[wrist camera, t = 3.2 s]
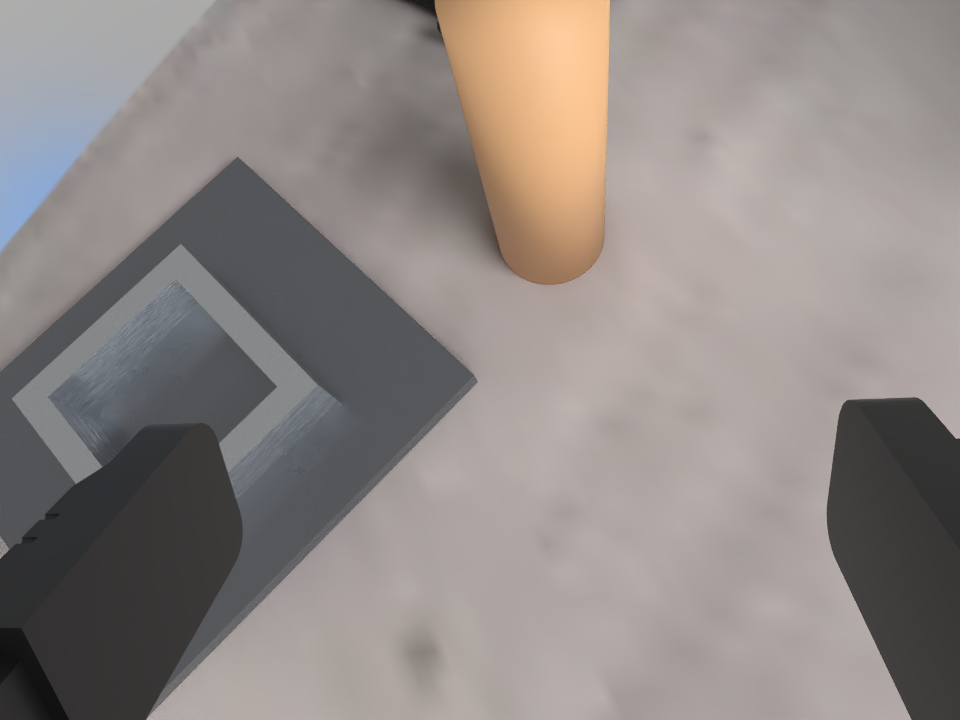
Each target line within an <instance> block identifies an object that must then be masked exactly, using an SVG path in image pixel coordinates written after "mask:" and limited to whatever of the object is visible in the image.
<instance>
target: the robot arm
mask: <svg viewBox="0 0 960 720" xmlns="http://www.w3.org/2000/svg"><path fill="white" fill-rule="evenodd" d="M827 526H828V534H829V539H830V544H831V548H832V551H833V554H834V557H835V559H836V561H837V563H838V565H839V568H840V570H841V572H842V574H843V576H844V578H845V580H846V582H847V584H848V587H849V589H850V591H851V593H852V595H853V597H854V599H855V601H856V603H857V605H858V608H859V610H860V612H861V614H862V616H863V618H864V620H865V622H866V624H867V627H868V629H869V631H870V633H871V635H872V637H873V639H874V641H875V643H876V645H877V648H878V650H879V652H880V654H881V656H882V658H883V660H884V662H885V664H886V667H887V669H888V671H889V673H890V675H891V677H892V679H893V681H894V683H895V685H896V688H897V690H898V692H899V694H900V696H901V698H902V700H903V702H904V704H905V707H906V709H907V711H908V713H909V715H910V717H911V719H912V720H960V439H956V438H955V437H954V436H953V435H952V434H951V433H950V432H949V430H948V429H947V428H946V427H945V426H944V425H943V423H942V422H941V421H940V420H939V419H938V418H937V417H936V415H935V414H934V413H933V412H932V411H931V410H930V409H929V407H928V406H927V405H926V404H925V403H924V402H923V401H922V400H920V399H919V398H915V397H913V398H886V399H860V400H847V401H846V402H845V403H844V404H843V406H842V408H841V411H840V414H839V419H838V426H837V434H836V441H835V449H834V457H833V464H832V472H831V479H830V487H829V495H828V502H827ZM242 536H243V525H242V517H241V513H240V510H239V507H238V503H237V500H236V497H235V494H234V491H233V487H232V484H231V481H230V478H229V475H228V471H227V468H226V465H225V462H224V459H223V455H222V452H221V449H220V446H219V443H218V440H217V437H216V435H215V433H214V431H213V430H212V428H211V427H210V426H209V425H207V424H205V423H181V424H155V425H148V426H146V427H144V428H143V429H141V430H140V431H139V432H138V433H137V434H136V435H135V436H134V437H133V438H132V440H131V441H130V442H129V443H128V444H127V445H126V446H125V447H124V448H123V449H122V450H121V451H120V452H119V453H118V454H117V455H116V456H115V457H114V458H113V459H112V460H111V461H110V462H109V463H108V464H107V465H105V466H103V467H102V468H100V469H99V470H97V471H96V472H94V473H93V474H91V475H89V476H88V477H86V478H85V479H83V480H82V481H80V482H78V483H77V484H75V485H74V486H72V487H71V488H70V489H69V490H68V491H67V492H66V493H65V494H64V495H63V496H62V497H61V498H60V499H59V500H58V501H57V502H56V503H55V504H54V505H53V506H52V507H51V508H50V509H49V510H48V511H47V512H46V513H45V519H44V520H39V521H38V522H37V523H36V524H35V525H34V526H33V527H32V528H31V529H30V530H29V531H28V532H27V533H26V534H25V535H24V536H23V537H22V542H21V544H15V545H14V546H13V547H12V548H11V549H10V550H9V551H8V552H7V553H6V554H5V555H4V556H3V557H2V558H1V559H0V720H146V718H147V717H148V715H149V713H150V711H151V710H152V708H153V706H154V705H155V703H156V701H157V699H158V698H159V696H160V694H161V692H162V691H163V689H164V687H165V685H166V684H167V682H168V680H169V678H170V677H171V675H172V673H173V671H174V670H175V668H176V666H177V664H178V663H179V661H180V659H181V657H182V656H183V654H184V652H185V650H186V649H187V647H188V645H189V643H190V642H191V640H192V638H193V636H194V635H195V633H196V631H197V629H198V628H199V626H200V624H201V622H202V621H203V619H204V617H205V615H206V614H207V612H208V610H209V608H210V607H211V605H212V603H213V601H214V600H215V598H216V596H217V594H218V593H219V591H220V589H221V588H222V586H223V584H224V582H225V581H226V579H227V577H228V575H229V574H230V572H231V570H232V568H233V567H234V565H235V563H236V561H237V559H238V556H239V553H240V549H241V544H242Z"/></svg>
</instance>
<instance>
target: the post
mask: <svg viewBox="0 0 960 720" xmlns="http://www.w3.org/2000/svg"><path fill="white" fill-rule="evenodd" d="M435 9H436V13H437V17H438V21H439V25H440V29H441V32H442V36H443V40H444V43H445V47H446V51H447V54H448V58H449V62H450V66H451V69H452V73H453V77H454V80H455V84H456V88H457V92H458V95H459V99H460V103H461V106H462V110H463V114H464V117H465V121H466V125H467V129H468V132H469V136H470V140H471V143H472V147H473V151H474V154H475V158H476V162H477V166H478V169H479V173H480V177H481V180H482V184H483V188H484V191H485V195H486V199H487V203H488V206H489V210H490V214H491V217H492V221H493V225H494V229H495V232H496V236H497V240H498V243H499V247H500V251H501V254H502V256H503V259H504V260H505V262H506V264H507V265H508V266H509V267H510V269H511V270H512V271H513V272H515V273H516V274H517V275H519V276H520V277H522V278H524V279H525V280H528V281H530V282H534V283H538V284H545V285H554V284H561V283H565V282H568V281H571V280H573V279H575V278H577V277H579V276H581V275H582V274H584V273H585V272H586V271H587V270H589V269H590V268H591V267H592V265H593V264H594V263H595V262H596V260H597V259H598V257H599V255H600V253H601V251H602V247H603V243H604V226H605V186H606V146H607V106H608V66H609V26H610V0H435Z"/></svg>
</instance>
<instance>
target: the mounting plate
mask: <svg viewBox="0 0 960 720" xmlns="http://www.w3.org/2000/svg"><path fill="white" fill-rule="evenodd" d="M476 383H477V380H476V378H475V376H474V375H473V374H472V373H471V372H470V371H469V370H468V369H467V368H466V367H465V366H463V365H462V364H461V363H460V362H459V361H458V360H457V359H456V358H455V357H454V356H453V355H452V354H450V353H449V352H448V351H447V350H446V349H445V348H444V347H443V346H442V345H441V344H440V343H439V342H437V341H436V340H435V339H434V338H433V337H432V336H431V335H430V334H429V333H428V332H427V331H426V330H424V329H423V328H422V327H421V326H420V325H419V324H418V323H417V322H416V321H415V320H414V319H413V318H411V317H410V316H409V315H408V314H407V313H406V312H405V311H404V310H403V309H402V308H401V307H400V306H399V305H397V304H396V303H395V302H394V301H393V300H392V299H391V298H390V297H389V296H388V295H387V294H386V293H384V292H383V291H382V290H381V289H380V288H379V287H378V286H377V285H376V284H375V283H374V282H373V281H371V280H370V279H369V278H368V277H367V276H366V275H365V274H364V273H363V272H362V271H361V270H360V269H358V268H357V267H356V266H355V265H354V264H353V263H352V262H351V261H350V260H349V259H348V258H347V257H345V256H344V255H343V254H342V253H341V252H340V251H339V250H338V249H337V248H336V247H335V246H334V245H332V244H331V243H330V242H329V241H328V240H327V239H326V238H325V237H324V236H323V235H322V234H321V233H320V232H318V231H317V230H316V229H315V228H314V227H313V226H312V225H311V224H310V223H309V222H308V221H307V220H305V219H304V218H303V217H302V216H301V215H300V214H299V213H298V212H297V211H296V210H295V209H294V208H292V207H291V206H290V205H289V204H288V203H287V202H286V201H285V200H284V199H283V198H282V197H281V196H279V195H278V194H277V193H276V192H275V191H274V190H273V189H272V188H271V187H270V186H269V185H268V184H266V183H265V182H264V181H263V180H262V179H261V178H260V177H259V176H258V175H257V174H256V173H255V172H253V171H252V170H251V169H250V168H249V167H248V166H247V165H246V164H245V163H244V162H243V161H242V160H241V159H239V158H238V157H237V158H236V159H235V160H234V161H233V162H232V163H231V164H230V165H229V166H227V167H226V168H225V169H224V170H223V171H222V172H221V173H220V174H219V175H218V176H216V177H215V178H214V179H213V180H212V181H211V182H210V183H209V184H208V185H206V186H205V187H204V188H203V189H202V190H201V191H200V192H199V193H198V194H197V195H195V196H194V197H193V198H192V199H191V200H190V201H189V202H188V203H187V204H186V205H184V206H183V207H182V208H181V209H180V210H179V211H178V212H177V213H176V214H175V215H173V216H172V217H171V218H170V219H169V220H168V221H167V222H166V223H165V224H164V225H162V226H161V227H160V228H159V229H158V230H157V231H156V232H155V233H154V234H152V235H151V236H150V237H149V238H148V239H147V240H146V241H145V242H144V243H143V244H141V245H140V246H139V247H138V248H137V249H136V250H135V251H134V252H133V253H132V254H130V255H129V256H128V257H127V258H126V259H125V260H124V261H123V262H122V263H121V264H119V265H118V266H117V267H116V268H115V269H114V270H113V271H112V272H111V273H110V274H108V275H107V276H106V277H105V278H104V279H103V280H102V281H101V282H100V283H98V284H97V285H96V286H95V287H94V288H93V289H92V290H91V291H90V292H89V293H87V294H86V295H85V296H84V297H83V298H82V299H81V300H80V301H79V302H78V303H76V304H75V305H74V306H73V307H72V308H71V309H70V310H69V311H68V312H67V313H65V314H64V315H63V316H62V317H61V318H60V319H59V320H58V321H57V322H56V323H54V324H53V325H52V326H51V327H50V328H49V329H48V330H47V331H46V332H44V333H43V334H42V335H41V336H40V337H39V338H38V339H37V340H36V341H35V342H33V343H32V344H31V345H30V346H29V347H28V348H27V349H26V350H25V351H24V352H22V353H21V354H20V355H19V356H18V357H17V358H16V359H15V360H14V361H13V362H11V363H10V364H9V365H8V366H7V367H6V368H5V369H4V370H3V371H1V372H0V536H1V537H2V539H3V540H4V541H5V543H6V544H7V546H8V547H9V549H11V548H12V547H13V546H14V545H15V544H21V542H22V537H23V536H24V535H25V534H26V533H27V532H28V531H29V530H30V529H31V528H32V527H33V526H34V525H35V524H36V523H37V522H38V521H39V520H44V519H45V513H46V512H47V511H48V510H49V509H50V508H51V507H52V506H53V505H54V504H55V503H56V502H57V501H58V500H59V499H60V498H61V497H62V496H63V495H64V494H65V493H66V492H67V491H68V490H69V489H70V488H71V487H72V486H74V485H75V484H77V483H78V482H80V481H82V480H83V479H85V478H86V477H88V476H89V475H91V474H93V473H94V472H96V471H97V470H99V469H100V468H102V467H103V466H105V465H107V464H108V463H109V462H110V461H111V460H112V459H113V458H114V457H115V456H116V455H117V454H118V453H119V452H120V451H121V450H122V449H123V448H124V447H125V446H126V445H127V444H128V443H129V442H130V441H131V440H132V438H133V437H134V436H135V435H136V434H137V433H138V432H139V431H140V430H141V429H143V428H144V427H146V426H148V425H155V424H181V423H205V424H207V425H209V426H210V427H211V428H212V430H213V431H214V433H215V435H216V437H217V440H218V443H219V446H220V449H221V452H222V455H223V459H224V462H225V465H226V468H227V471H228V475H229V478H230V481H231V484H232V487H233V491H234V494H235V497H236V500H237V503H238V507H239V510H240V513H241V517H242V525H243V536H242V544H241V549H240V553H239V556H238V559H237V561H236V563H235V565H234V567H233V568H232V570H231V572H230V574H229V575H228V577H227V579H226V581H225V582H224V584H223V586H222V588H221V589H220V591H219V593H218V594H217V596H216V598H215V600H214V601H213V603H212V605H211V607H210V608H209V610H208V612H207V614H206V615H205V617H204V619H203V621H202V622H201V624H200V626H199V628H198V629H197V631H196V633H195V635H194V636H193V638H192V640H191V642H190V643H189V645H188V647H187V649H186V650H185V652H184V654H183V656H182V657H181V659H180V661H179V663H178V664H177V666H176V668H175V670H174V671H173V673H172V675H171V677H170V678H169V680H168V682H167V684H166V685H165V687H164V689H163V691H162V692H161V694H160V696H159V698H158V699H157V701H156V703H155V705H154V706H153V708H152V710H151V711H150V713H149V715H150V714H151V713H152V712H153V711H154V710H155V709H156V708H157V707H158V706H159V705H160V704H161V703H162V702H163V700H164V699H165V698H166V697H167V696H168V695H169V694H170V693H171V692H172V691H173V690H174V689H175V688H176V687H177V686H178V685H179V684H180V683H181V682H182V681H183V680H184V679H185V678H186V677H187V676H188V675H189V674H190V673H191V672H192V671H193V670H194V669H195V668H196V667H197V666H198V665H199V664H200V663H201V662H202V661H203V660H204V659H205V658H206V657H207V656H208V655H209V654H210V653H211V652H212V651H213V650H214V649H215V648H216V647H217V646H218V645H219V644H220V643H221V642H222V641H223V640H224V639H225V638H226V637H227V636H228V635H229V634H230V633H231V632H232V631H233V630H234V628H235V627H236V626H237V625H238V624H239V623H240V622H241V621H242V620H243V619H244V618H245V617H246V616H247V615H248V614H249V613H250V612H251V611H252V610H253V609H254V608H255V607H256V606H257V605H258V604H259V603H260V602H261V601H262V600H263V599H264V598H265V597H266V596H267V595H268V594H269V593H270V592H271V591H272V590H273V589H274V588H275V587H276V586H277V585H278V584H279V583H280V582H281V581H282V580H283V579H284V578H285V577H286V576H287V575H288V574H289V573H290V572H291V571H292V570H293V569H294V568H295V567H296V566H297V565H298V564H299V563H300V562H301V561H302V560H303V559H304V558H305V557H306V555H307V554H308V553H309V552H310V551H311V550H312V549H313V548H314V547H315V546H316V545H317V544H318V543H319V542H320V541H321V540H322V539H323V538H324V537H325V536H326V535H327V534H328V533H329V532H330V531H331V530H332V529H333V528H334V527H335V526H336V525H337V524H338V523H339V522H340V521H341V520H342V519H343V518H344V517H345V516H346V515H347V514H348V513H349V512H350V511H351V510H352V509H353V508H354V507H355V506H356V505H357V504H358V503H359V502H360V501H361V500H362V499H363V498H364V497H365V496H366V495H367V494H368V493H369V492H370V491H371V490H372V489H373V488H374V487H375V486H376V485H377V483H378V482H379V481H380V480H381V479H382V478H383V477H384V476H385V475H386V474H387V473H388V472H389V471H390V470H391V469H392V468H393V467H394V466H395V465H396V464H397V463H398V462H399V461H400V460H401V459H402V458H403V457H404V456H405V455H406V454H407V453H408V452H409V451H410V450H411V449H412V448H413V447H414V446H415V445H416V444H417V443H418V442H419V441H420V440H421V439H422V438H423V437H424V436H425V435H426V434H427V433H428V432H429V431H430V430H431V429H432V428H433V427H434V426H435V425H436V424H437V423H438V422H439V421H440V420H441V419H442V418H443V417H444V416H445V415H446V414H447V413H448V412H449V410H450V409H451V408H452V407H453V406H454V405H455V404H456V403H457V402H458V401H459V400H460V399H461V398H462V397H463V396H464V395H465V394H466V393H467V392H468V391H469V390H470V389H471V388H472V387H473V386H474V385H475V384H476ZM149 715H148V716H149Z"/></svg>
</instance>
